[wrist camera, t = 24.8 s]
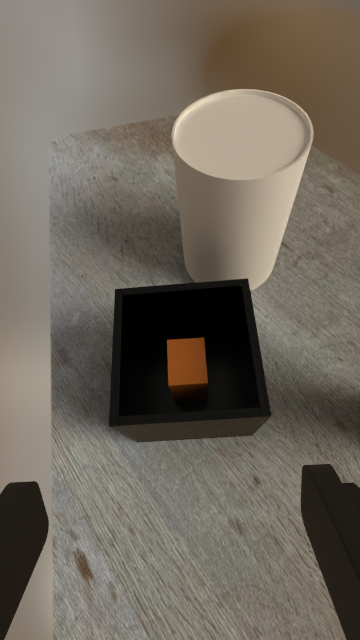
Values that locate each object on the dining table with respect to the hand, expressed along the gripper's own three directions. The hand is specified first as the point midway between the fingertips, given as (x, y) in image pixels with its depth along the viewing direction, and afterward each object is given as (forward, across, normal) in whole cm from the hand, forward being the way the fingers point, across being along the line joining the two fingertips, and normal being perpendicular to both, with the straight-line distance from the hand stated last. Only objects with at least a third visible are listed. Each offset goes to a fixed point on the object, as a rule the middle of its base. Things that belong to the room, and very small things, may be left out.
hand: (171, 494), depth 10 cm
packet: (+29, 0, -12) cm, 31 cm away
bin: (+29, 0, -13) cm, 32 cm away
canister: (+43, +7, +1) cm, 43 cm away
